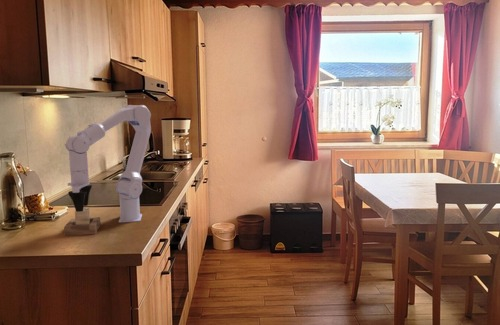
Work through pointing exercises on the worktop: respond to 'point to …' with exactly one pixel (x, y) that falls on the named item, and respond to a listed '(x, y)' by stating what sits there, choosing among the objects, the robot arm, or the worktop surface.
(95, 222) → the walnut holder
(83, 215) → the birch post
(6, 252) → the worktop surface
